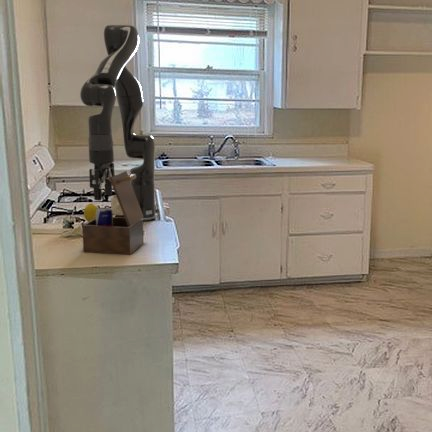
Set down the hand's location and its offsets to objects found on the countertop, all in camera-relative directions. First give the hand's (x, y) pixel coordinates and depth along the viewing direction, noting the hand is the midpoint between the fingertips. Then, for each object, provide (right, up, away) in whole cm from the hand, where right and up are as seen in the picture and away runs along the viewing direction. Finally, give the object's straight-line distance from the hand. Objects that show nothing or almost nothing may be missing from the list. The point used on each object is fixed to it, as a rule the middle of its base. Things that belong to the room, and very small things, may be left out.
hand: (103, 197), depth 187 cm
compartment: (+2, -17, +4) cm, 17 cm away
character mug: (-1, -12, +24) cm, 26 cm away
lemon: (-15, -9, +33) cm, 37 cm away
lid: (+8, 0, -1) cm, 8 cm away
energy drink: (-1, -16, +4) cm, 16 cm away
